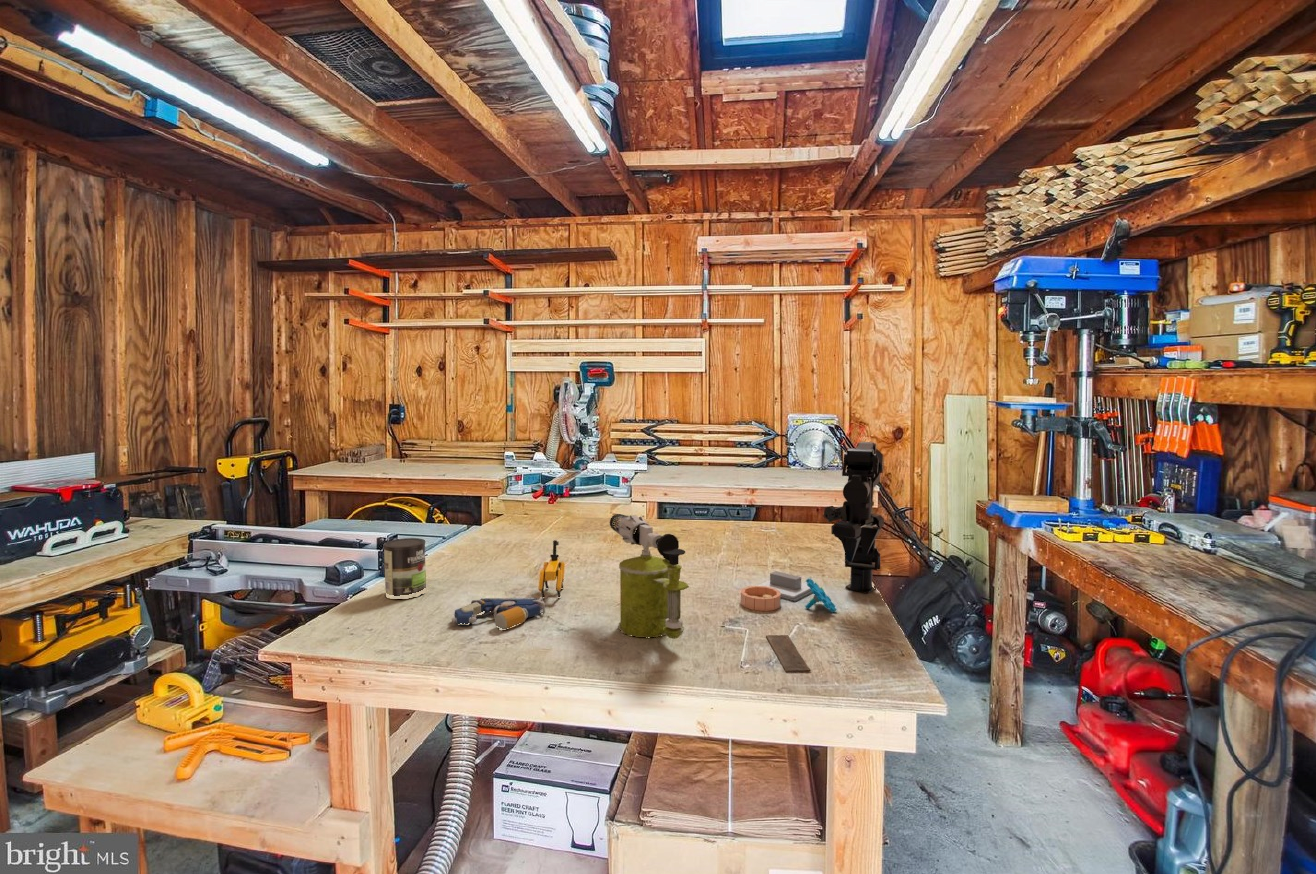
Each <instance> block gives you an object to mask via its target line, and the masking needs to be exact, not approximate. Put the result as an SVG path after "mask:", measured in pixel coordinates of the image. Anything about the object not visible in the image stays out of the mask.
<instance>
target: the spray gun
mask: <svg viewBox="0 0 1316 874" xmlns="http://www.w3.org/2000/svg"><path fill="white" fill-rule="evenodd" d="M540 610H541V611H542V612H541V611H540ZM483 611H485V614H482V615H477V614H479V613H481V612H483ZM489 611H491V612H489ZM540 612H541V613H543V614H542V615H545V614H544V613H546V604H545V601H544V599H543V597H542V596H540V597H539V598H538V597H508V598H507V597H505V598H503V597H502V598H499V597H498V598H497V597H494V598H486V597H485V598H480V599H473V600H472V601H471V603H469V604H467V605H464V606H462V607H460V608H458V609H455V610H454V614H453V615H454V616H453V617H452V618H451V623H452V624H453V623H454V624H456V625H458V624H460V623H462V624H464V623H465V624H468V623H471V624H474V623H476V622H477V621H478V620H479V619H484V618H487V617H490V616H493V620H494V619H495V620H494V624H495V627H496V626H498V627H500V628H502V629H507V628H510V627H512V626H514V625H517V624H519V623H523V622H524V623H525V621H526V619H528V618H531V617H534V616H537V615H539V614H540ZM524 623H523V624H524Z"/></svg>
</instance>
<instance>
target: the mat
mask: <svg viewBox="0 0 1316 874" xmlns="http://www.w3.org/2000/svg"><path fill="white" fill-rule="evenodd" d="M819 588H821V587H820V586H819ZM812 594H813V593H812V592H811V590H810V591H808V592H806V593H804V594H802V595H800V596H798V597H796V598H794V599H793V598H789V597H785V596H782V595H781V600H786V601H789V602H794V603H796V602H798V601H801V600H802V599H804V598H806V597H809V596H810V595H812Z"/></svg>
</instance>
